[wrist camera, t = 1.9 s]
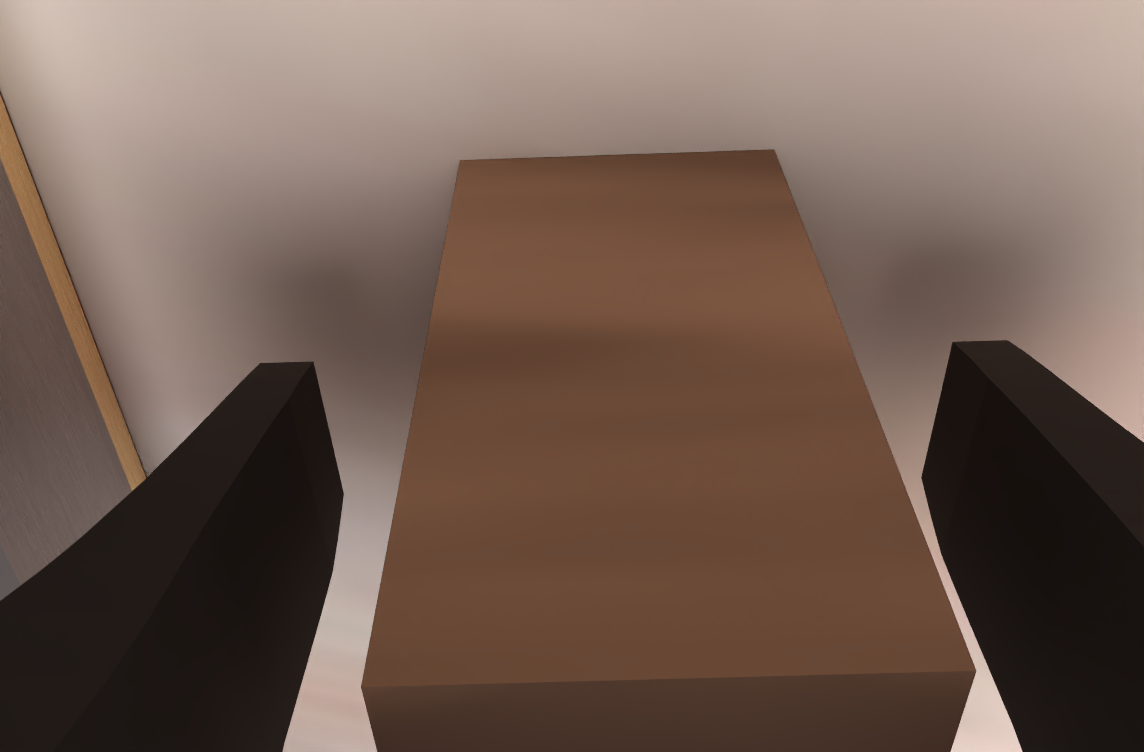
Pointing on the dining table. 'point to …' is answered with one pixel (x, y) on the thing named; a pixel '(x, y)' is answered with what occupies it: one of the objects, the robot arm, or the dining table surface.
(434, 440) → the peg
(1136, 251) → the dining table surface
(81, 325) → the block
